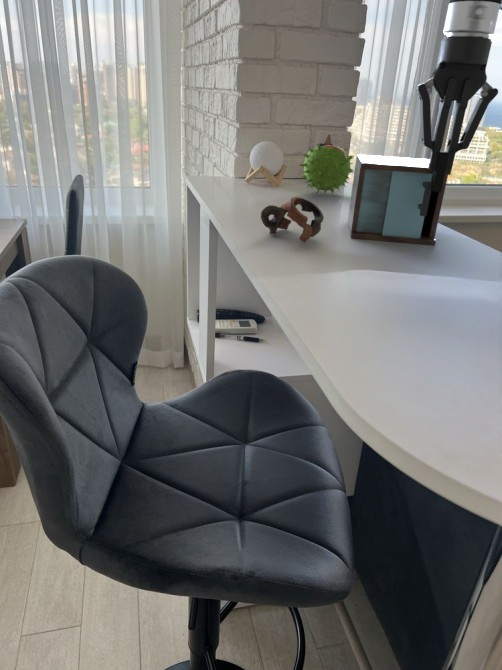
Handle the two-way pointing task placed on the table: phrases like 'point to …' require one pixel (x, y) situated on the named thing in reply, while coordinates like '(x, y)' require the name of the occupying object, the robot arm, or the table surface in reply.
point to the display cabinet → (374, 193)
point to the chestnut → (327, 167)
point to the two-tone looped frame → (293, 217)
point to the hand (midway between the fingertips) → (435, 190)
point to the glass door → (407, 204)
